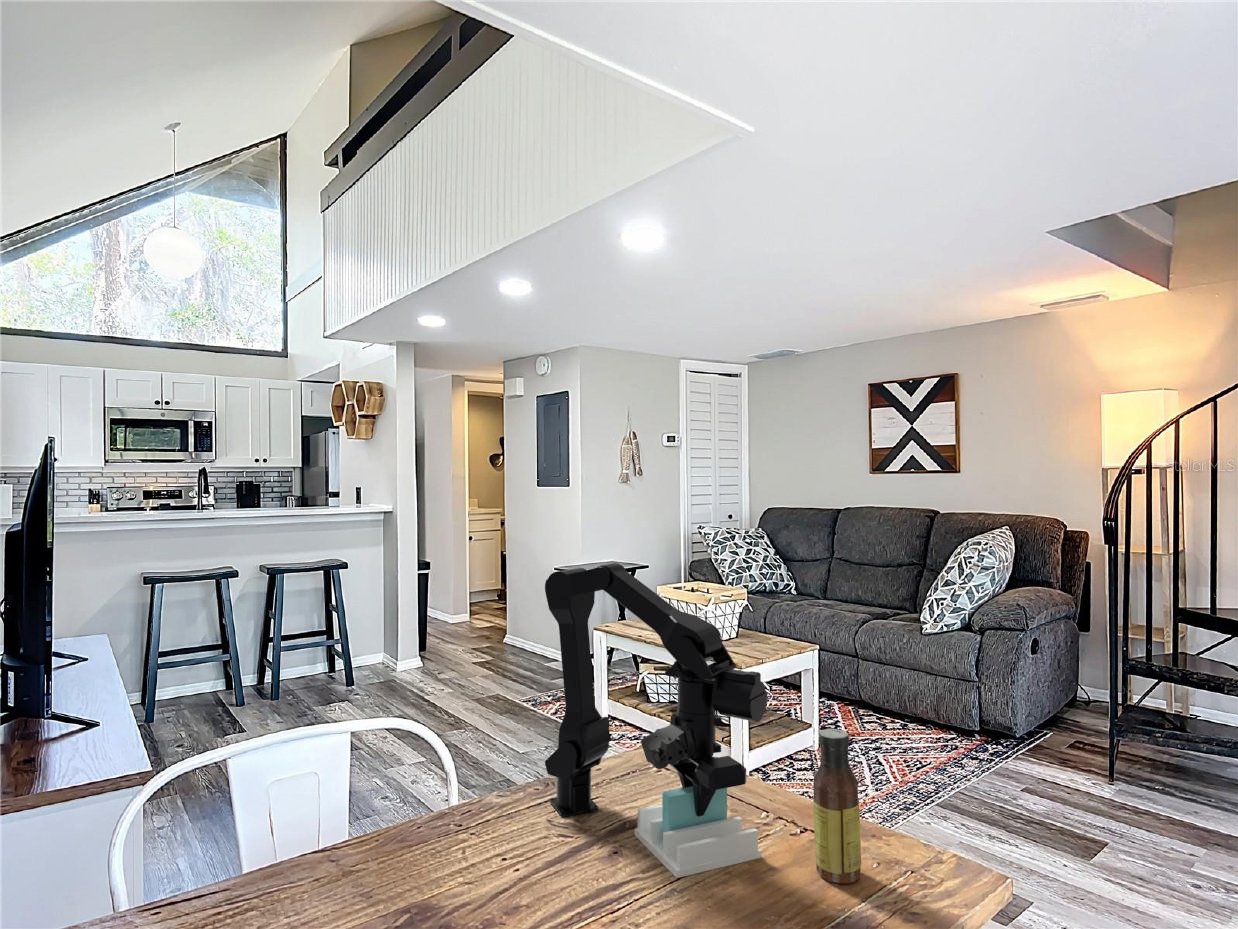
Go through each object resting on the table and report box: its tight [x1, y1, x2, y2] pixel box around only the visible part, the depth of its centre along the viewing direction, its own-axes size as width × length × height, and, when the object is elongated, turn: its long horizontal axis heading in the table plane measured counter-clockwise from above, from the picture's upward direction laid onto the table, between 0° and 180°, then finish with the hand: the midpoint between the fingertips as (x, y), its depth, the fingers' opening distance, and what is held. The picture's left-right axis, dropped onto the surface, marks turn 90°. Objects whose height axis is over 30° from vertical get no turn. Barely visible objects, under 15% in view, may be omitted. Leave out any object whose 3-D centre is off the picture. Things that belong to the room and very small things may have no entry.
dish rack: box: [634, 803, 762, 879], centre depth 116 cm, size 14×14×4 cm
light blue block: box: [661, 786, 728, 839], centre depth 116 cm, size 2×10×7 cm, turn 114°
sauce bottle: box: [812, 728, 862, 885], centre depth 108 cm, size 6×6×20 cm
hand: (695, 812), depth 116 cm, fingers closed on light blue block, 2 cm apart
